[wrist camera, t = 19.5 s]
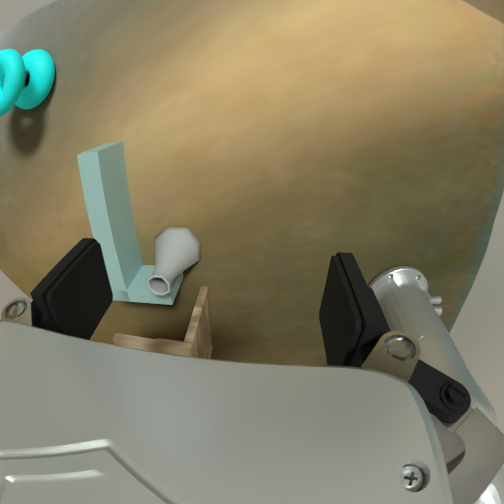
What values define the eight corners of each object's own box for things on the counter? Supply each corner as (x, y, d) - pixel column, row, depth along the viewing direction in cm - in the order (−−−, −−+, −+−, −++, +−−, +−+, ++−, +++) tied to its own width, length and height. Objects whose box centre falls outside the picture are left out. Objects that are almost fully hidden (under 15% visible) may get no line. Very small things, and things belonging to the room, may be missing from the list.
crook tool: (167, 136, 35) (148, 144, 29) (183, 276, 46) (172, 304, 40) (103, 143, 36) (77, 154, 30) (128, 274, 46) (111, 300, 40)
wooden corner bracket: (208, 286, 47) (190, 350, 35) (212, 348, 54) (201, 408, 42) (144, 281, 47) (112, 339, 35) (157, 342, 54) (137, 397, 42)
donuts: (22, 84, 22) (-13, 132, 24) (66, 80, 30) (29, 119, 33) (4, 35, 17) (-30, 84, 20) (47, 37, 26) (12, 78, 29)
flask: (167, 271, 46) (147, 312, 37) (148, 232, 42) (122, 267, 34) (208, 261, 44) (195, 303, 36) (191, 219, 41) (171, 255, 32)
